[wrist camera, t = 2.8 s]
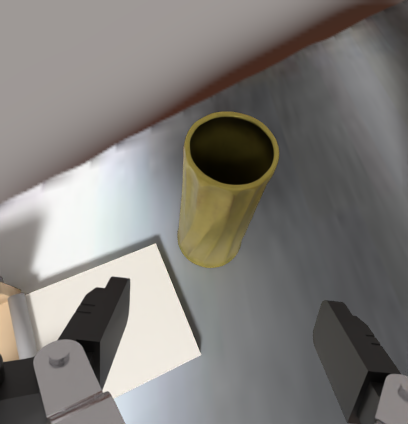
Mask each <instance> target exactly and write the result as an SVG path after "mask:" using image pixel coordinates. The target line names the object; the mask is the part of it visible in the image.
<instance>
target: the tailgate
mask: <svg viewBox="0 0 408 424" xmlns="http://www.w3.org/2000/svg"><path fill="white" fill-rule="evenodd" d="M112 276H114V277H123V278H130V306H129V316H128V321H127V325H126V328H125V330H124V333H123V336H122V339H121V341H120V344H119V347H118V349H117V352H116V355H115V358H114V360H113V363H112V366H111V369H110V371H109V374H108V377H107V380H106V382H105V385H104V388H103V390H102V391H103V393H104V392H106V391H108V392H110V394H111V395H112V397H113V399H114V398H116V397H118V396H120V395H122V394H124V393H126V392H128V391H130V390H132V389H134V388H136V387H138V386H140V385H142V384H144V383H146V382H148V381H150V380H152V379H154V378H156V377H158V376H160V375H162V374H164V373H166V372H168V371H170V370H172V369H174V368H176V367H178V366H180V365H182V364H184V363H186V362H188V361H190V360H192V359H194V358H196V357H198V356H200V355H201V353H200V351H199V348H198V346H197V343H196V341H195V338H194V336H193V333H192V331H191V328H190V326H189V324H188V321H187V319H186V316H185V314H184V311H183V309H182V306H181V304H180V301H179V299H178V297H177V294H176V292H175V289H174V287H173V284H172V282H171V279H170V277H169V274H168V272H167V270H166V267H165V265H164V262H163V260H162V257H161V255H160V252H159V250H158V247H157V245H156V243H155V244H153V245H150V246H148V247H145V248H143V249H140V250H138V251H135V252H132V253H130V254H127V255H125V256H122V257H120V258H117V259H115V260H112V261H110V262H107V263H105V264H102V265H99V266H97V267H94V268H92V269H89V270H87V271H84V272H82V273H79V274H77V275H74V276H72V277H69V278H67V279H64V280H61V281H59V282H56V283H54V284H51V285H49V286H46V287H44V288H41V289H39V290H36V291H34V292H31V293H28V294H26V295H25V294H24V293H19V294H15V295H12V296H10V297H8V298H7V300H8V305H9V310H10V315H11V320H12V325H13V330H14V335H15V340H16V345H17V350H18V355H19V360H20V359H26V358H31V357H34V356H35V355H36V354H37V352H38V351H39V350H40V349H41V348H43V347H44V346H45V345H47V344H49V343H51V342H54V341H57V340H58V338H59V337H60V335H61V333H62V332H63V330H64V329H65V327H66V326H67V324H68V322H69V321H70V319H71V318H72V316H73V314H74V313H75V312H76V310H77V308H78V306H79V305H80V303H81V302H82V300H83V299H84V297H85V295H86V294H87V293H89V292H90V291H92V290H93V289H94V288H96V287H99V288H105V287H106V285H107V283H108V281H109V279H110V278H111V277H112Z"/></svg>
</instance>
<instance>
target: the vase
mask: <svg viewBox="0 0 408 424" xmlns="http://www.w3.org/2000/svg"><path fill="white" fill-rule="evenodd" d="M278 160H279V148H278V144H277V141H276V139H275V137H274V136H273V134H272V133H271V132H270V130H269V129H268V128H267V127H266V126H265V125H264V124H263V123H262V122H260V121H259V120H257V119H255V118H253V117H251V116H248V115H245V114H241V113H237V112H215V113H212V114H209V115H207V116H205V117H203V118H201V119H199V120H198V121H197V122H195V123H194V124H193V125H192V127H191V128H190V129H189V131H188V133H187V135H186V138H185V142H184V148H183V184H182V199H181V210H180V220H179V230H178V245H179V247H180V249H181V251H182V253H183V254H184V256H185V257H186V258H187V259H188V260H189V261H191V262H192V263H194V264H196V265H199V266H202V267H206V268H214V267H220V266H223V265H225V264H227V263H228V262H230V261H231V260H232V259H233V258H234V257H235V256H236V255H237V253H238V251H239V249H240V246H241V240H242V238H243V237H244V235H245V233H246V230H247V228H248V225H249V223H250V221H251V219H252V217H253V214H254V212H255V210H256V207H257V205H258V203H259V201H260V198H261V196H262V194H263V192H264V189H265V187H266V185H267V183H268V182H269V180H270V179H271V177H272V175H273V173H274V171H275V169H276V166H277V164H278Z"/></svg>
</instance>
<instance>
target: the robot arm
mask: <svg viewBox="0 0 408 424" xmlns="http://www.w3.org/2000/svg"><path fill="white" fill-rule="evenodd" d="M129 306H130V278H123V277H114V276H112V277H111V278H110V279H109V281H108V283H107V285H106V287H105V288H99V287H96V288H94V289H93V290H92V291H90V292H89V293H87V294H86V295H85V297H84V299H83V300H82V302H81V303H80V305H79V306H78V308H77V310H76V312H75V313H74V314H73V316H72V318H71V319H70V321H69V322H68V324H67V326H66V327H65V329H64V330H63V332H62V333H61V335H60V337H59V338H58V340H57V341H54V342H51V343H49V344H47V345H45V346H44V347H43V348H41V349H40V350H39V351H38V352H37V354H36V355H35V356H34V357H31V358H26V359H20V360H13V361H7V362H3V358H2V356H1V354H0V424H125V422H124V420H123V418H122V416H121V414H120V412H119V410H118V407H117V405H116V403H115V401H114V399H113V397H112V395H111V394H110V392H108V391H106V392H104V393H103V391H102V390H103V388H104V385H105V382H106V380H107V377H108V374H109V371H110V369H111V366H112V363H113V360H114V358H115V355H116V352H117V349H118V347H119V344H120V341H121V339H122V336H123V333H124V330H125V328H126V325H127V321H128V316H129ZM313 342H314V346H315V349H316V351H317V353H318V356H319V358H320V360H321V363H322V365H323V367H324V370H325V372H326V374H327V377H328V379H329V381H330V384H331V386H332V388H333V391H334V393H335V396H336V398H337V400H338V403H339V405H340V407H341V410H342V412H343V414H344V417H345V419H346V421H347V423H352V424H408V377H407V376H404V375H401V373H400V372H399V370H398V369H397V367H396V366H395V364H394V363H393V362H392V360H391V359H390V357H389V356H388V354H387V353H386V352H385V350H384V349H383V347H382V346H380V343H379V342H378V340H377V339H376V338H375V337H374V334H373V333H372V331H371V330H370V329H369V327H368V326H367V325H366V324H365V323H364V322H363V321H361V320H360V319H359V318H358V317H357V316H353V315H352V314H351V312H350V311H349V309H348V308H347V306H346V305H345V304H344V303H343V302H336V301H327V300H324V301H323V302H322V304H321V306H320V310H319V313H318V316H317V320H316V323H315V326H314V330H313Z"/></svg>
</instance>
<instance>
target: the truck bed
mask: <svg viewBox="0 0 408 424" xmlns="http://www.w3.org/2000/svg"><path fill="white" fill-rule="evenodd" d="M19 293H21V290H20V289H17V288H15V287H12V286H10V285H7V284H5V283H3V279H2V277H0V354H1V356H2V358H3V362H7V361H13V360H19V355H18V350H17V345H16V340H15V335H14V330H13V325H12V320H11V315H10V310H9V305H8V300H7V298H8V297H10V296H12V295H15V294H19Z"/></svg>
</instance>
